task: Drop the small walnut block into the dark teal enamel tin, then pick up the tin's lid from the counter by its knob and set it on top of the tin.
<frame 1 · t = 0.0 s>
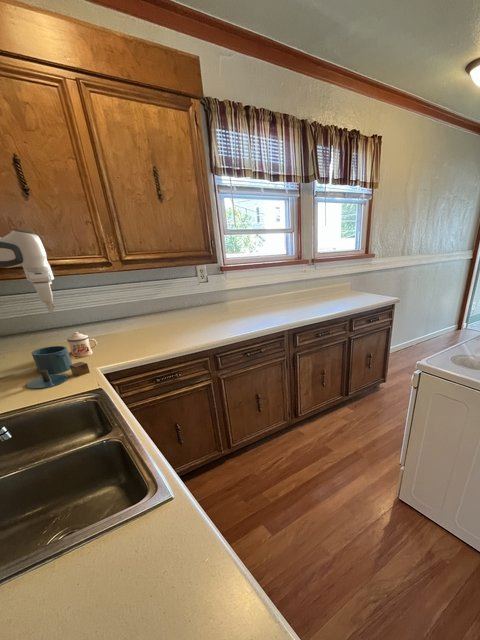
hand: (51, 310, 137), 26 cm above the worktop, tool pointing down, fingers open, 8 cm apart
block: (81, 374, 142), on the worktop
lid: (47, 382, 133), point 1 cm above the worktop
tin: (56, 370, 146), on the worktop
teacup with lid: (86, 354, 166), on the worktop
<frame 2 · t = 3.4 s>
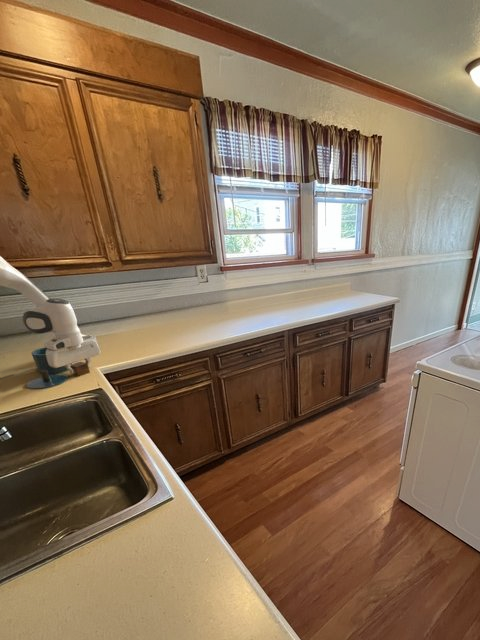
hand: (80, 370, 141), 2 cm above the worktop, tool pointing down, fingers closed on block, 5 cm apart
block: (81, 374, 142), on the worktop, touching gripper
everything else where it was.
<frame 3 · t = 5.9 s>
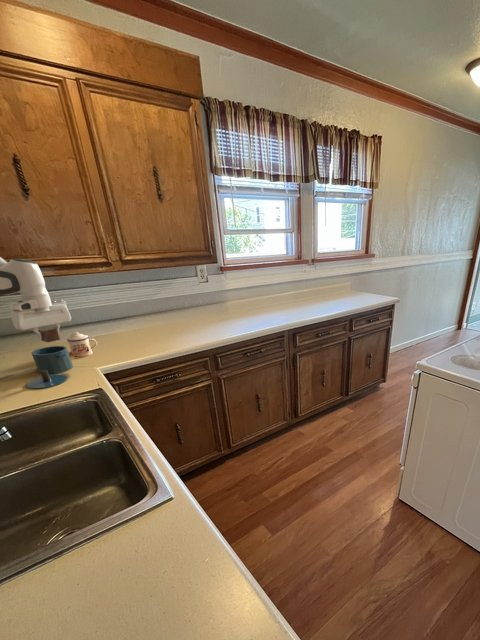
hand: (49, 336, 137), 16 cm above the worktop, tool pointing down, fingers closed on block, 5 cm apart
block: (50, 340, 138), point 14 cm above the worktop, touching gripper
everything else where it was.
when the fingers open (10 cm above the worktop, at t = 8.6 s): block drops 8 cm, resting on tin.
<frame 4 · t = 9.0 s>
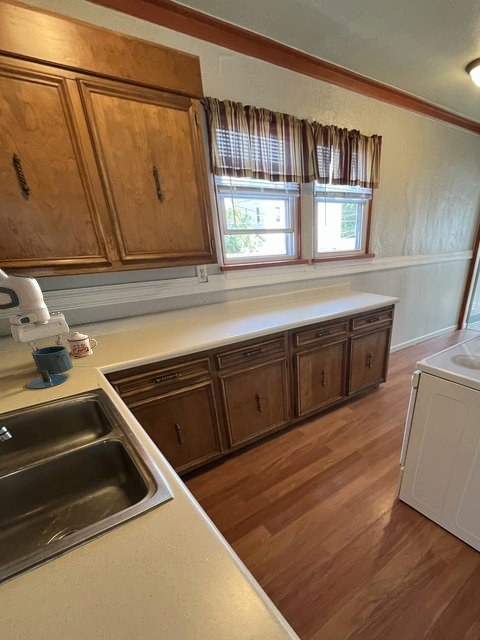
hand: (48, 347, 141), 11 cm above the worktop, tool pointing down, fingers open, 8 cm apart
block: (55, 369, 146), resting on tin
everything else where it was.
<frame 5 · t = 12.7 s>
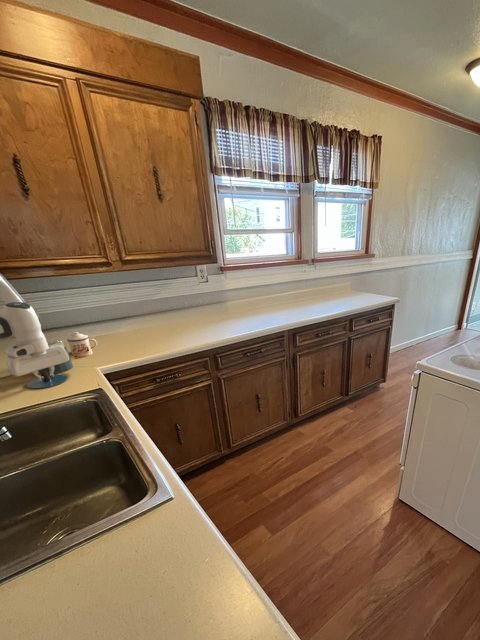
hand: (46, 378, 132), 2 cm above the worktop, tool pointing down, fingers closed on lid, 2 cm apart
lid: (47, 382, 133), point 1 cm above the worktop, touching gripper
everything else where it was.
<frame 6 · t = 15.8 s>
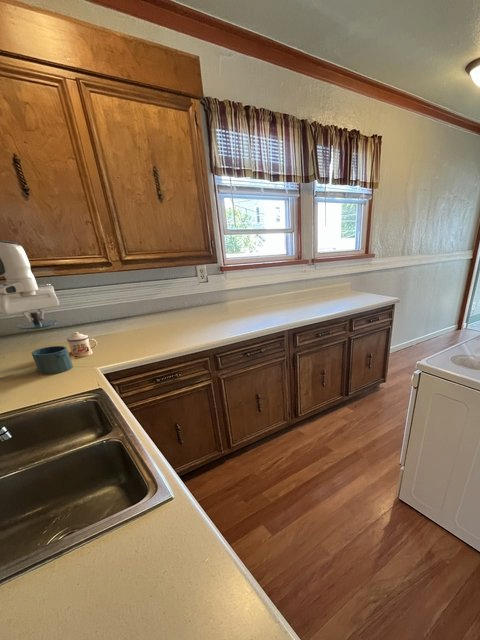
hand: (36, 321, 134), 23 cm above the worktop, tool pointing down, fingers closed on lid, 2 cm apart
lid: (37, 324, 135), point 21 cm above the worktop, touching gripper
everything else where it was.
when the fingers open (11 cm above the worktop, at t = 18.9 s): lid stays where it is, resting on tin.
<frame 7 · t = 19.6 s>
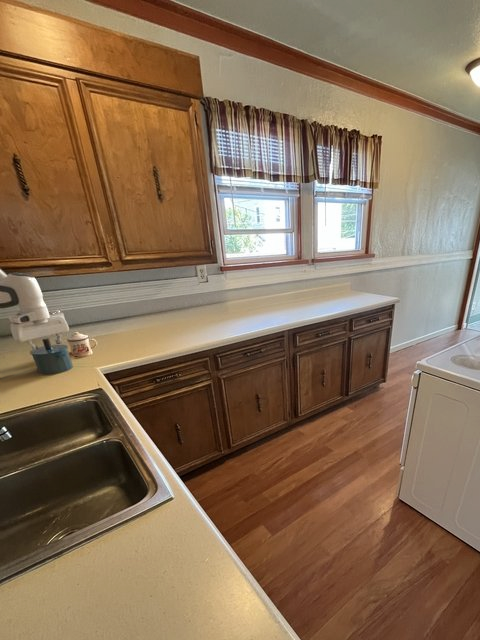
hand: (47, 346, 141), 11 cm above the worktop, tool pointing down, fingers open, 8 cm apart
lid: (49, 350, 142), point 9 cm above the worktop, touching tin
everything else where it was.
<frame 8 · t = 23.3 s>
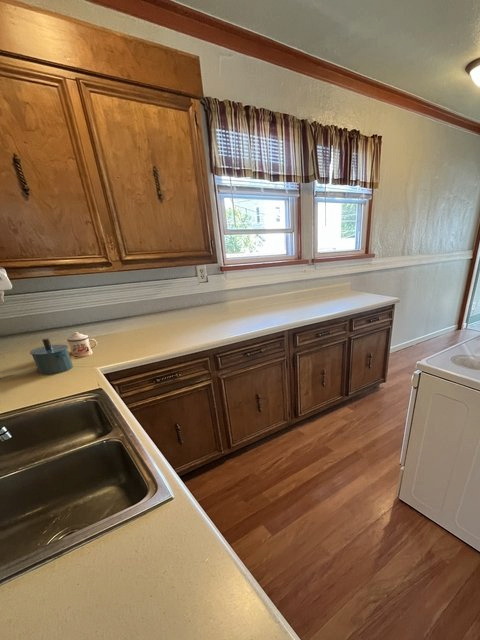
nothing on the worktop moved.
at the end: block inside the target area in the tin (0.2 cm from its centre), point 0.4 cm above the tin's base; lid 0.1 cm off-centre on the tin, point 9.4 cm above the tin's base; lid tilted 0° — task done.
